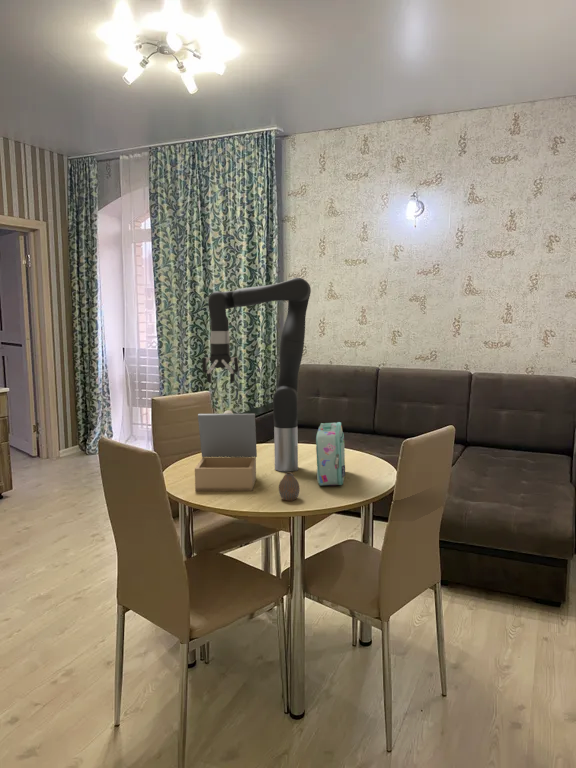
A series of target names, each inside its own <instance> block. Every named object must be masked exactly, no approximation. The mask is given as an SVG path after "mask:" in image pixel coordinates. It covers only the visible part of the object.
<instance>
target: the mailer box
mask: <svg viewBox="0 0 576 768" xmlns="http://www.w3.org/2000/svg"><path fill="white" fill-rule="evenodd" d="M256 480H257V457H201V459H200V460H199V462H198V463H197V465H196V466H195V467H194V486H195V487H194V489H195V492H253V491H254V487H255V483H256Z"/></svg>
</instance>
